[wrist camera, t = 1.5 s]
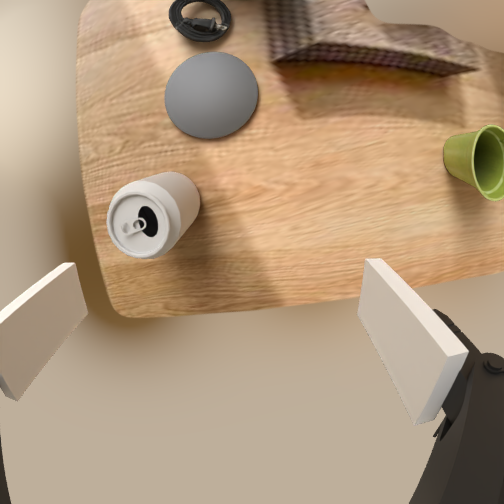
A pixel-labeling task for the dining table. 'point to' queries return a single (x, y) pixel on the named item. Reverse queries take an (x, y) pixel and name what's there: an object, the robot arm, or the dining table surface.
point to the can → (152, 214)
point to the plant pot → (478, 160)
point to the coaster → (211, 95)
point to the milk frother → (200, 21)
